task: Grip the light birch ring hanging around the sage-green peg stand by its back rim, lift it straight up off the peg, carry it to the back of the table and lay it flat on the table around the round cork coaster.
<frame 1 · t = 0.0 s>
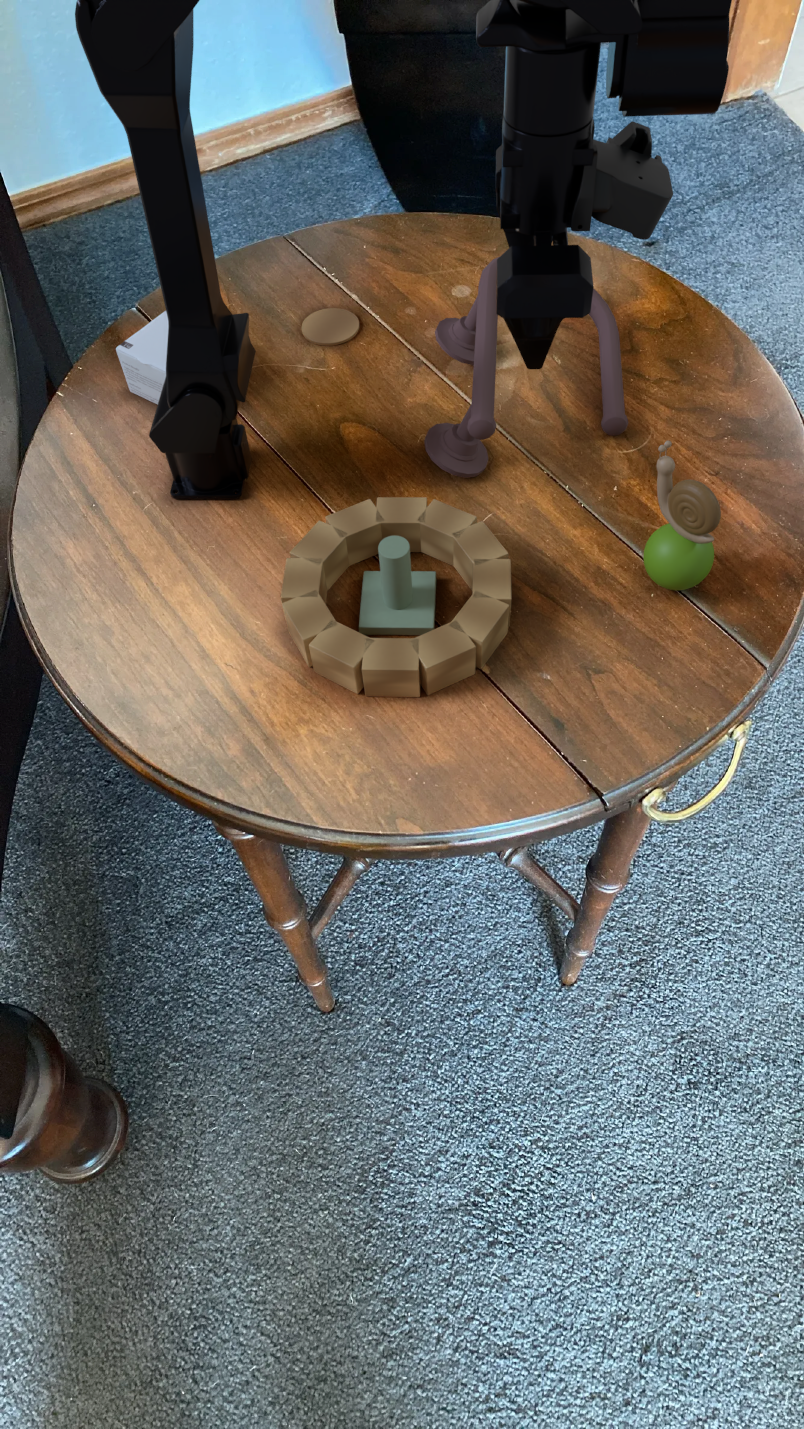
hand: (532, 330, 75), 15 cm above the table, tool pointing down, fingers open, 9 cm apart
snail figurine: (667, 577, 80), on the table
small box: (183, 386, 97), on the table
cork coaster: (330, 327, 101), on the table
toilet paper hanger: (526, 389, 94), on the table
peg stand: (398, 606, 79), on the table
birch ring: (398, 606, 79), on the table
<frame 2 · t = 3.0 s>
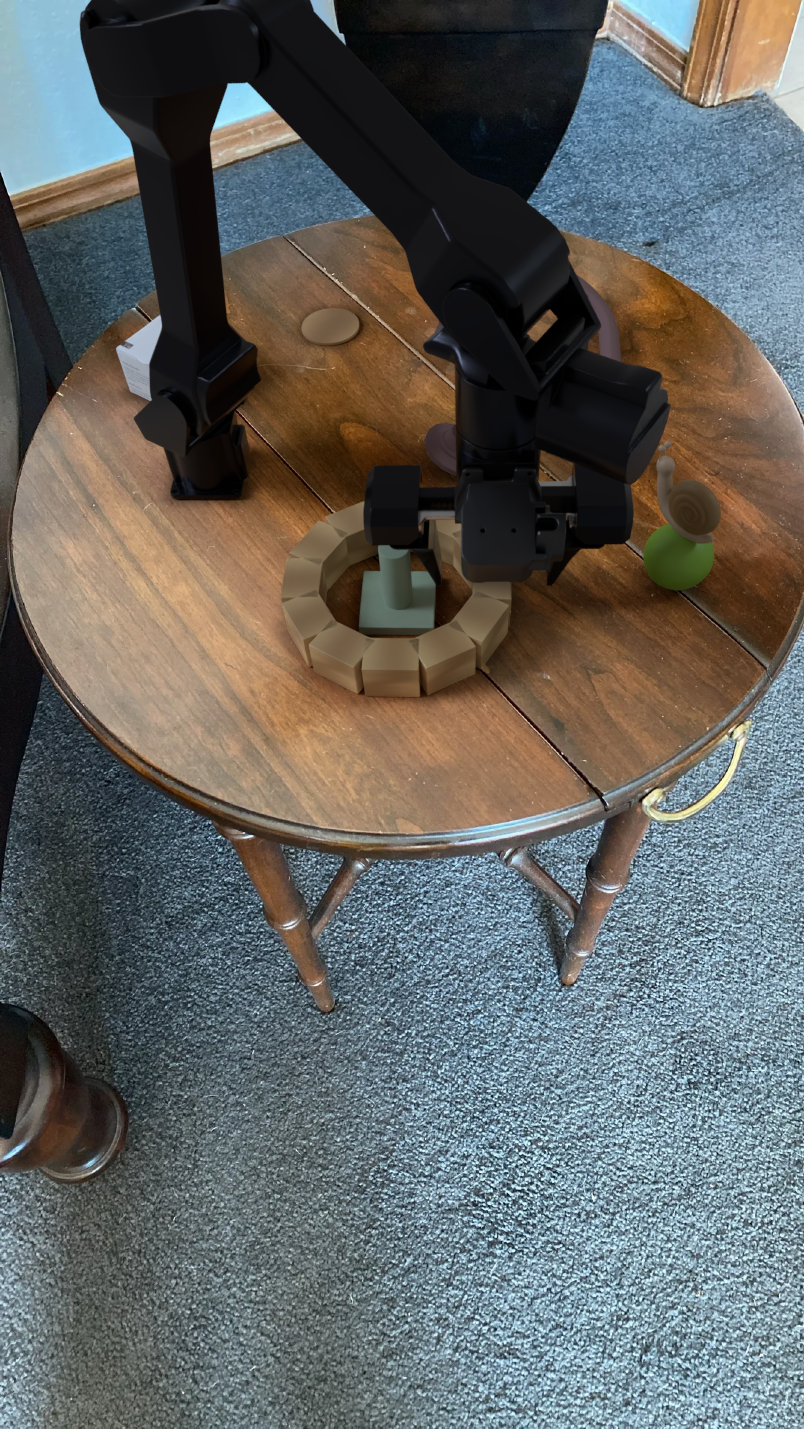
hand: (494, 582, 76), 3 cm above the table, tool pointing down, fingers open, 8 cm apart
nothing on the table moved.
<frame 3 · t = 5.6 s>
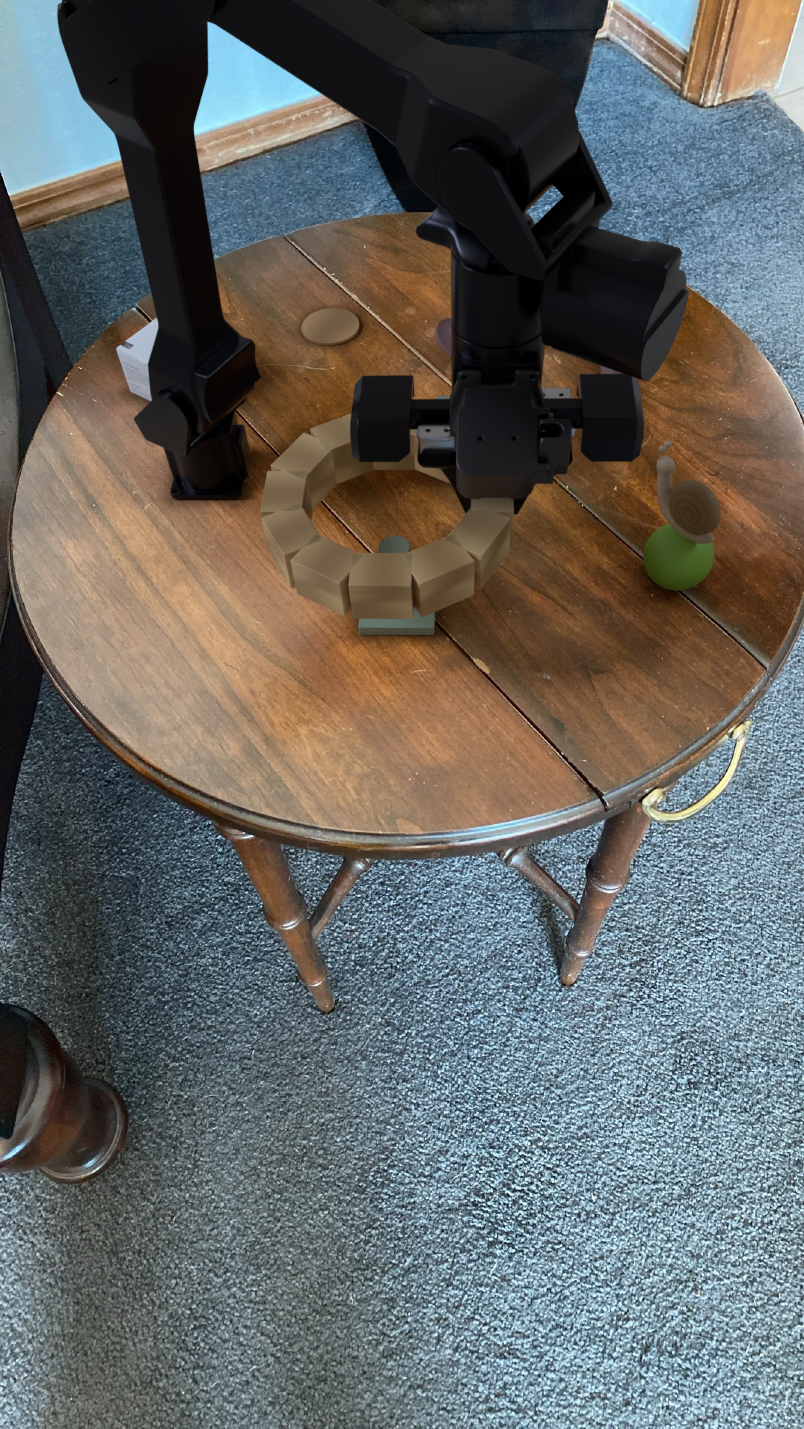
hand: (491, 510, 71), 10 cm above the table, tool pointing down, fingers closed on birch ring, 3 cm apart
birch ring: (390, 525, 72), point 9 cm above the table, touching gripper
everything else where it was.
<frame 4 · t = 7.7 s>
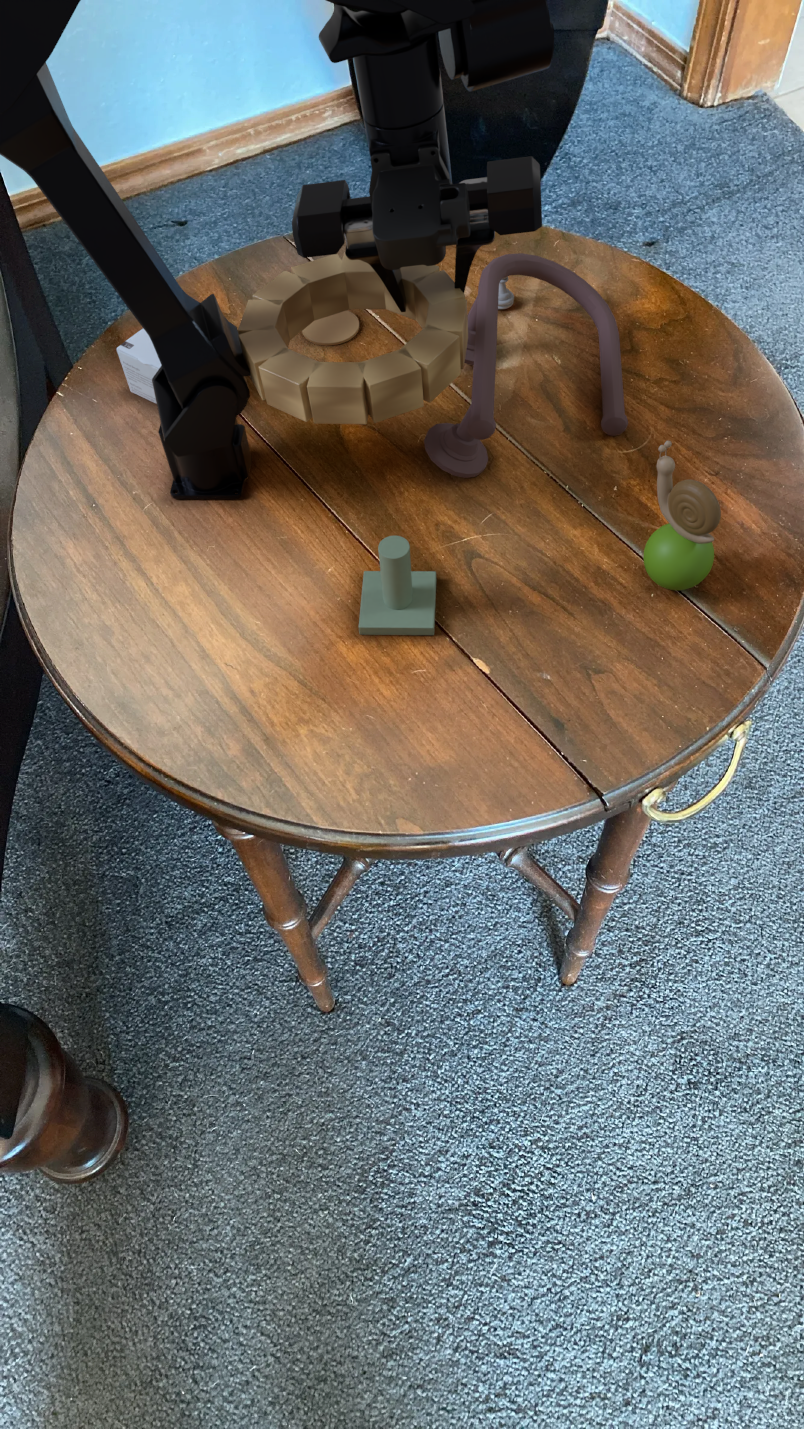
hand: (430, 306, 81), 13 cm above the table, tool pointing down, fingers closed on birch ring, 4 cm apart
birch ring: (357, 352, 80), point 11 cm above the table, touching arm, gripper
everything else where it was.
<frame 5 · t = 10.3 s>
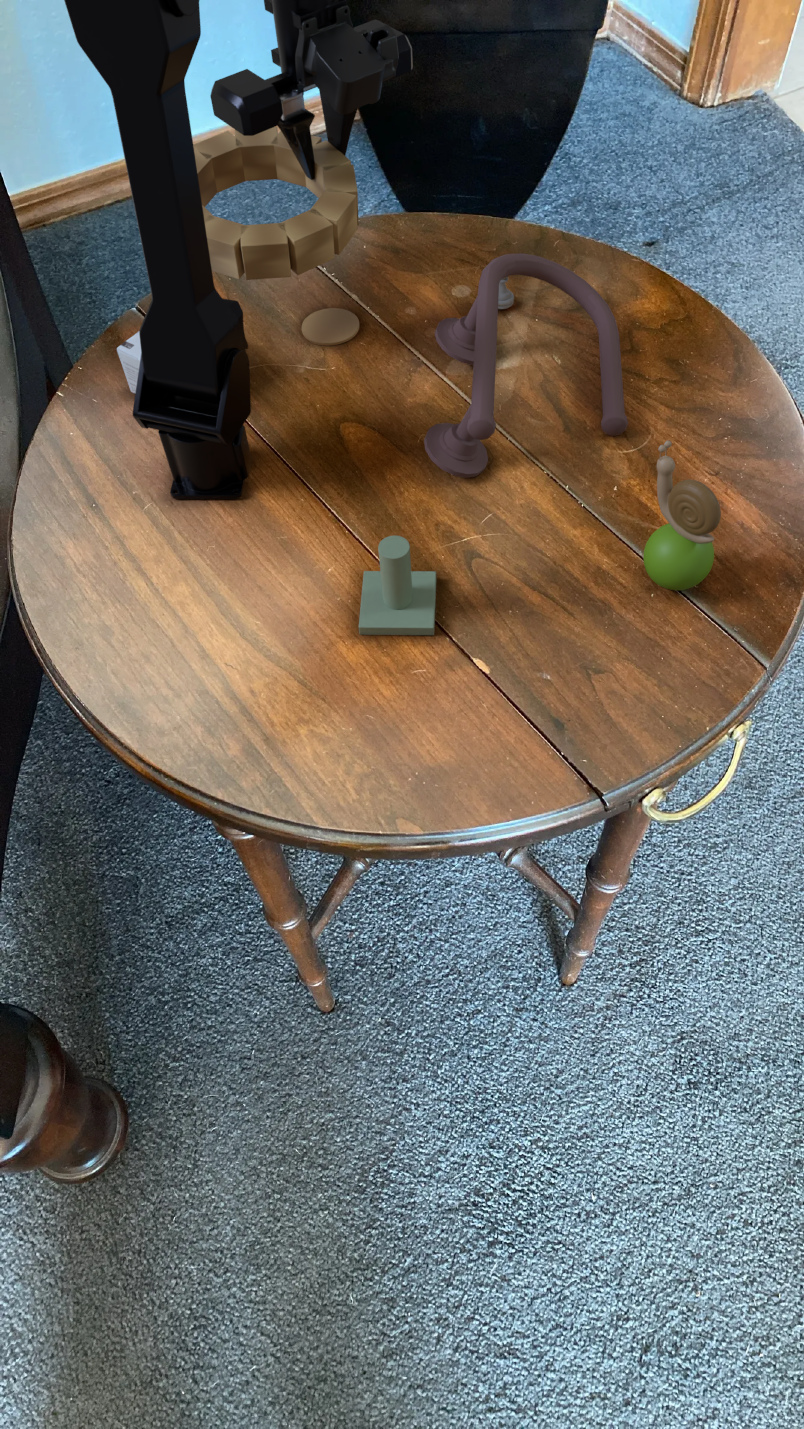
hand: (324, 172, 95), 12 cm above the table, tool pointing down, fingers closed on birch ring, 3 cm apart
birch ring: (264, 218, 94), point 10 cm above the table, tilted 6°, touching gripper
everything else where it was.
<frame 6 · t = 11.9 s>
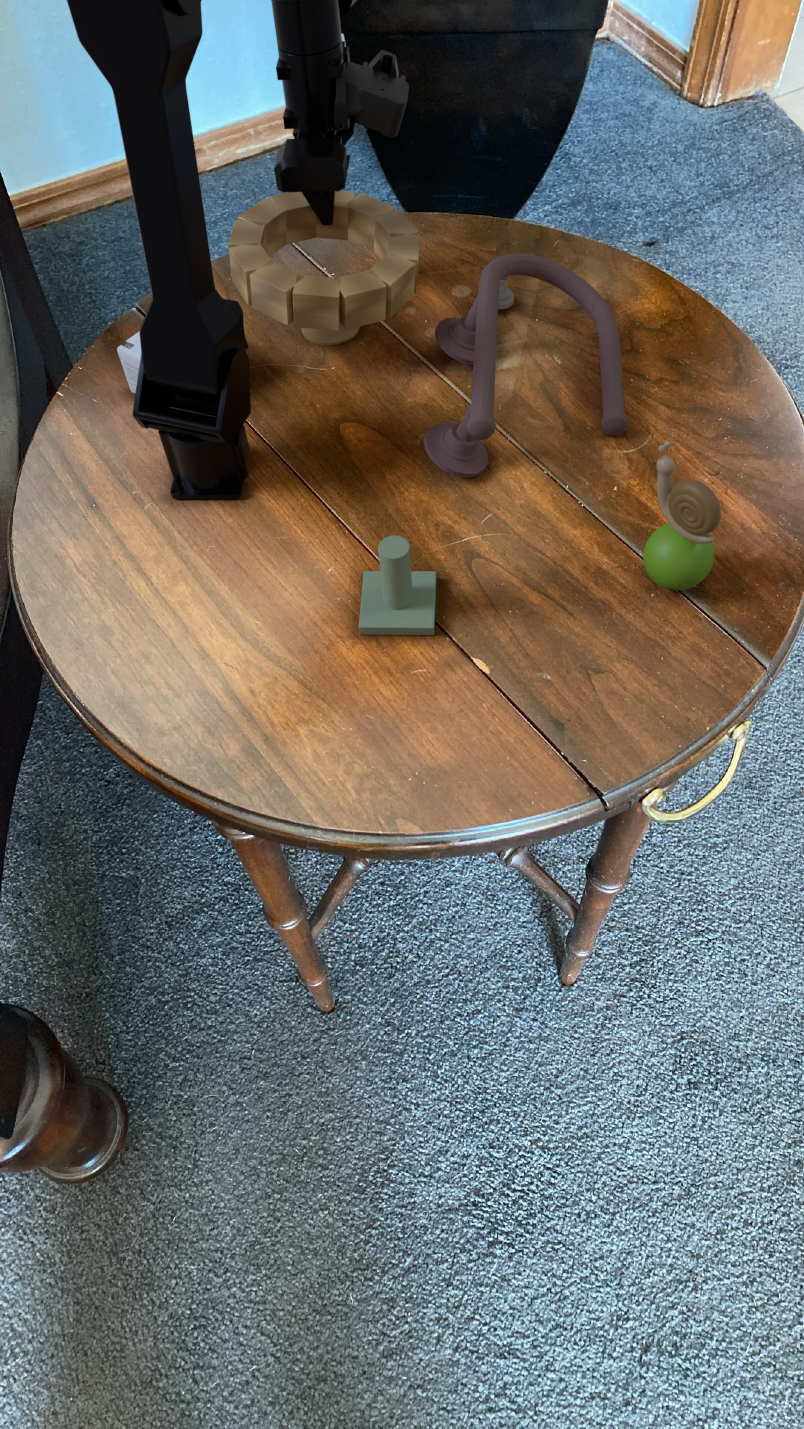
hand: (329, 215, 98), 8 cm above the table, tool pointing down, fingers closed on birch ring, 3 cm apart
birch ring: (326, 273, 96), point 6 cm above the table, tilted 6°, touching gripper
everything else where it was.
when the fingers open (2 cm above the table, at t = 13.3 s): birch ring stays where it is, on the table.
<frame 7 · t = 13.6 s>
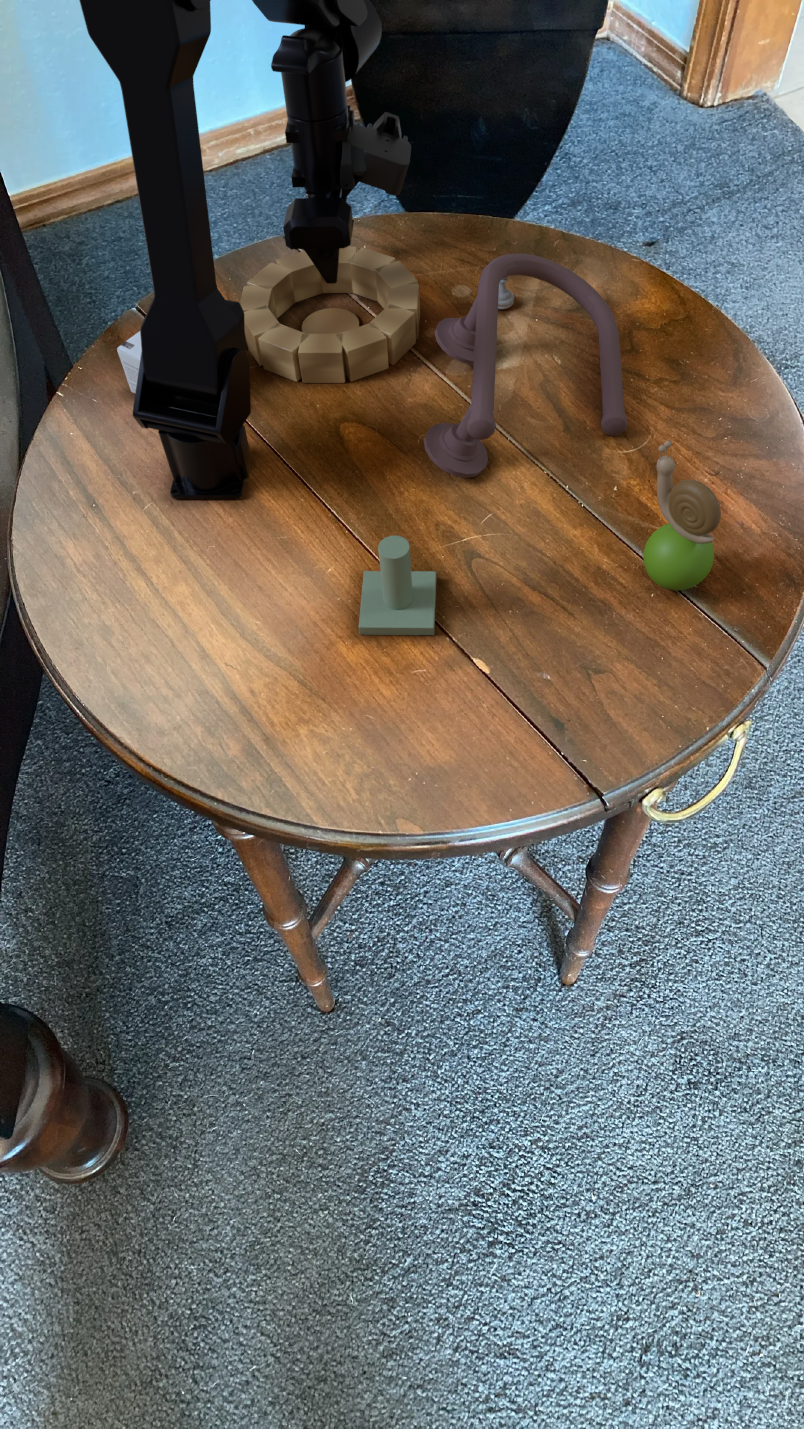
hand: (334, 265, 103), 2 cm above the table, tool pointing down, fingers open, 6 cm apart
birch ring: (332, 327, 101), on the table
everything else where it was.
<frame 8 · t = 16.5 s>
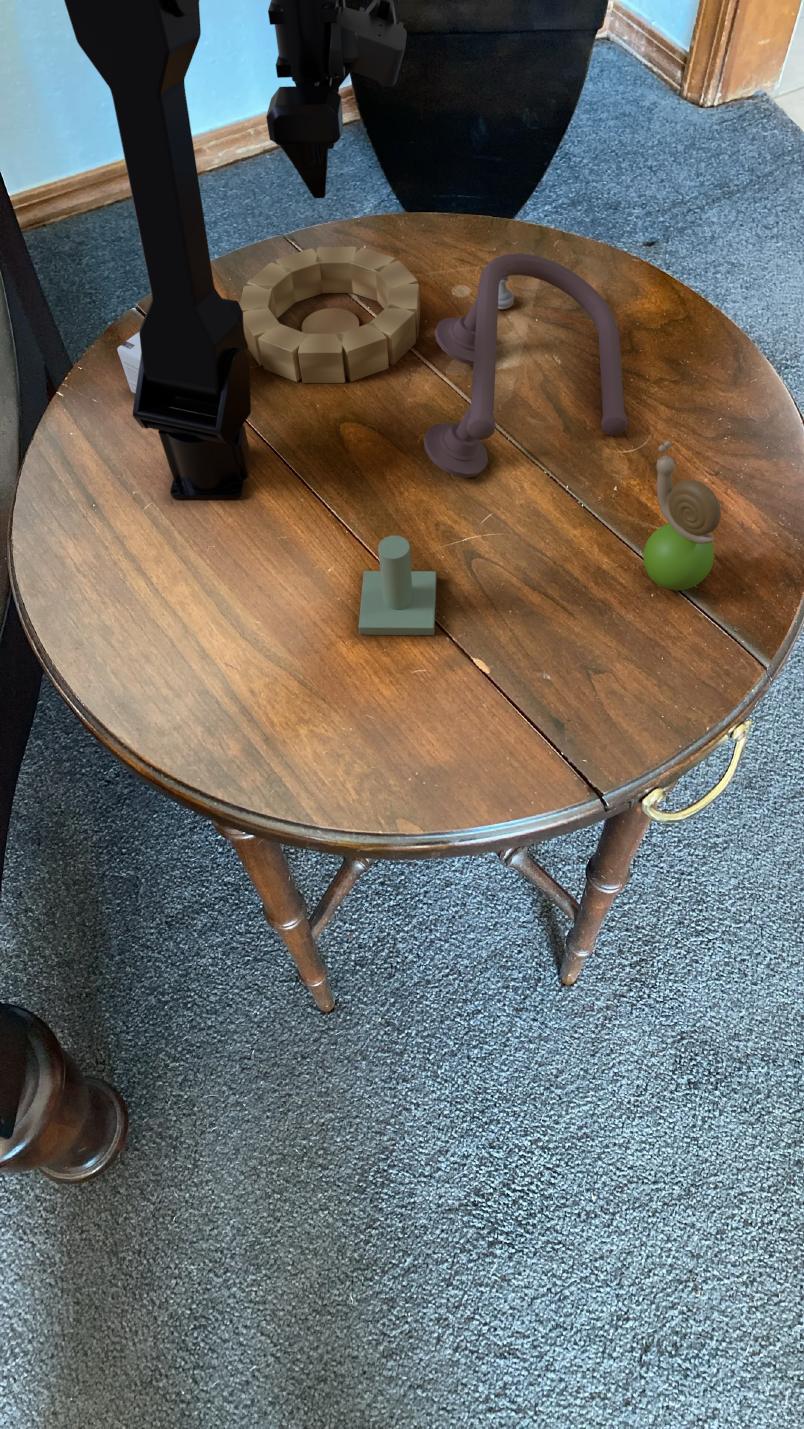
hand: (324, 172, 95), 12 cm above the table, tool pointing down, fingers open, 9 cm apart
nothing on the table moved.
at the end: birch ring 0.2 cm off-centre on the cork coaster, point 0.0 cm above the cork coaster's base; birch ring touching table; the gripper is holding nothing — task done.
